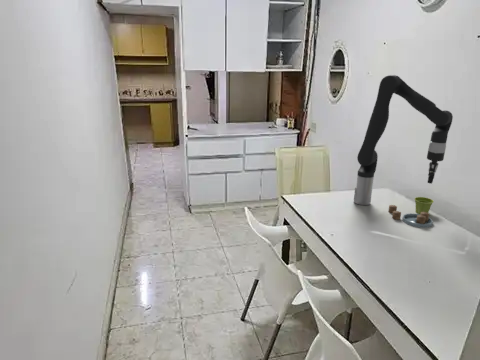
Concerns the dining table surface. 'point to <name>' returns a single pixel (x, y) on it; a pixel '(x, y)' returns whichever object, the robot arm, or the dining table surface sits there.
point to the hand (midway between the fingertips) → (430, 180)
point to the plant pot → (423, 204)
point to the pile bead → (392, 208)
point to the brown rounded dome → (396, 215)
